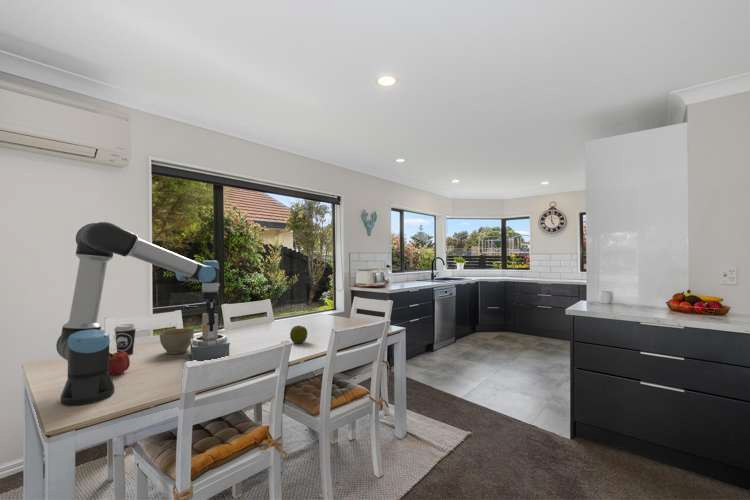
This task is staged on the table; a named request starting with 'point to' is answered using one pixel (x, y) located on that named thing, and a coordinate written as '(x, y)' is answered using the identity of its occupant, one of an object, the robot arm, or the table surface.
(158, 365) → the table surface
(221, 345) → the housing
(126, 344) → the coffee cup
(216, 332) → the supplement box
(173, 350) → the planter bowl
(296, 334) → the olive green ball
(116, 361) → the vegetable
